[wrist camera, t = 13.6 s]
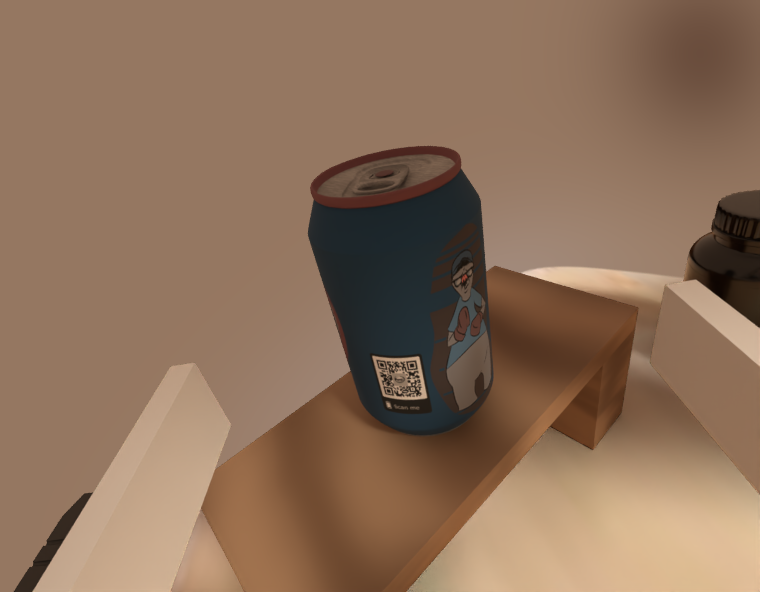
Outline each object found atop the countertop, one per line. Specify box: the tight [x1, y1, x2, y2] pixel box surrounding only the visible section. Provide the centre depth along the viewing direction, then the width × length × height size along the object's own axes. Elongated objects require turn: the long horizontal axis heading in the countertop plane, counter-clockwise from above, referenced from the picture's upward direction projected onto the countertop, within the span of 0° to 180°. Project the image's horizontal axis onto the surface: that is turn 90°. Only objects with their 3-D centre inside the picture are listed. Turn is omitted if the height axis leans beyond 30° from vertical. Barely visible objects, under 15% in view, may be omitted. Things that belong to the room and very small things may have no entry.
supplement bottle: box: [683, 190, 760, 328], centre depth 29 cm, size 7×7×12 cm
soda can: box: [308, 146, 494, 437], centre depth 19 cm, size 7×7×12 cm
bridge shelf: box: [201, 266, 638, 592], centre depth 24 cm, size 24×10×9 cm, turn 131°
